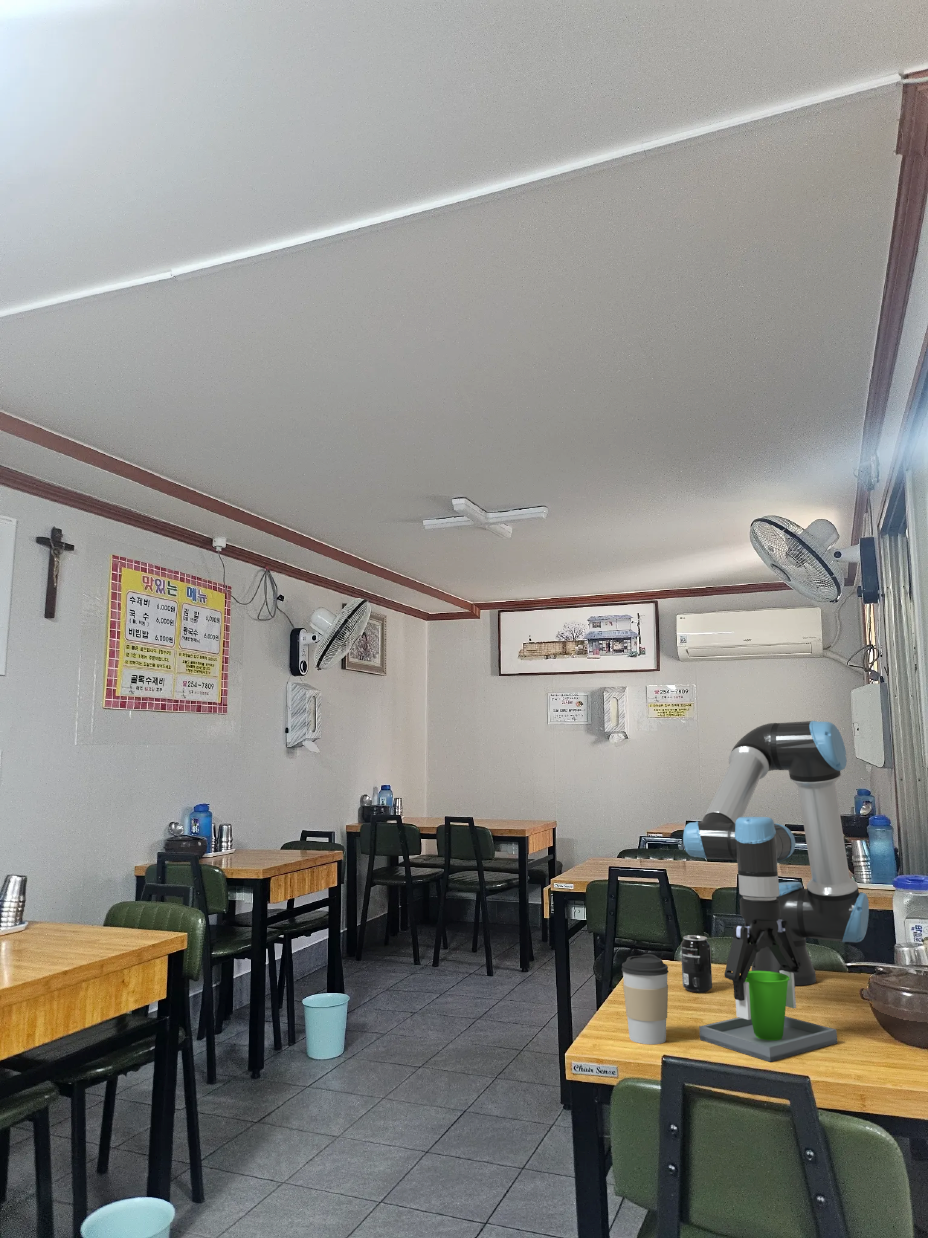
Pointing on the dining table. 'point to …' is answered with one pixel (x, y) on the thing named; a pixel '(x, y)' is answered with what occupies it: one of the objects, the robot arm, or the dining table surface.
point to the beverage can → (696, 964)
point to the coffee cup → (646, 998)
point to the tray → (743, 1040)
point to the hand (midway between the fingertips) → (766, 1012)
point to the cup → (767, 1003)
